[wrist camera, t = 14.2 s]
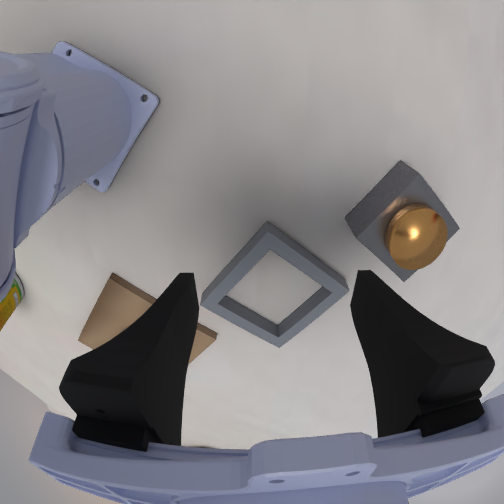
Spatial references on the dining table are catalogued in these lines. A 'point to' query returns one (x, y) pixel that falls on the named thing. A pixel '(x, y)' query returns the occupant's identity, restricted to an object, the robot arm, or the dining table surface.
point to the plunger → (416, 236)
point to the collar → (244, 263)
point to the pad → (127, 316)
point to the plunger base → (393, 211)
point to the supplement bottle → (11, 301)
